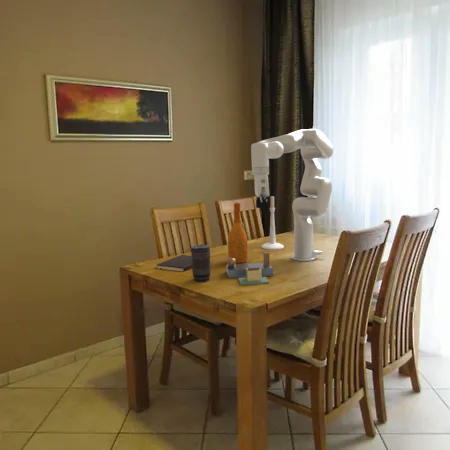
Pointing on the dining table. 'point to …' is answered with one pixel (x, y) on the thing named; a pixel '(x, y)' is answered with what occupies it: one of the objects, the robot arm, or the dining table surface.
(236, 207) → the wine bottle
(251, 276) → the lever cap
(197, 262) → the camera lens
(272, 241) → the candlestick
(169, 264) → the hardcover book
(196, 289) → the dining table surface
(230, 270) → the hand plane
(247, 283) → the rubber mat
